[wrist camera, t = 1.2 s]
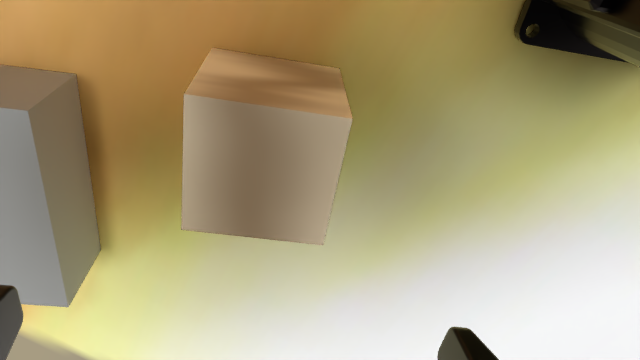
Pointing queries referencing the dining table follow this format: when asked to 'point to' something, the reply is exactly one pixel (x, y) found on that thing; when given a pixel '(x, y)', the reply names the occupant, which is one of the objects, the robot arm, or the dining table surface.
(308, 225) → the birch cube
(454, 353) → the robot arm
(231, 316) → the dining table surface
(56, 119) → the slate block
